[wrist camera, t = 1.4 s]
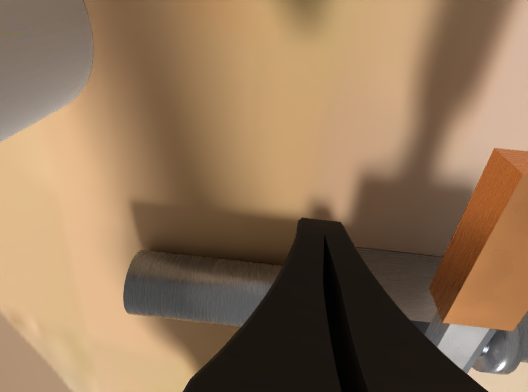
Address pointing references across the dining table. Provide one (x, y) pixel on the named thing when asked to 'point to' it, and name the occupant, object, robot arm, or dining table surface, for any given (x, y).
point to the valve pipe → (263, 276)
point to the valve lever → (485, 261)
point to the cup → (41, 59)
